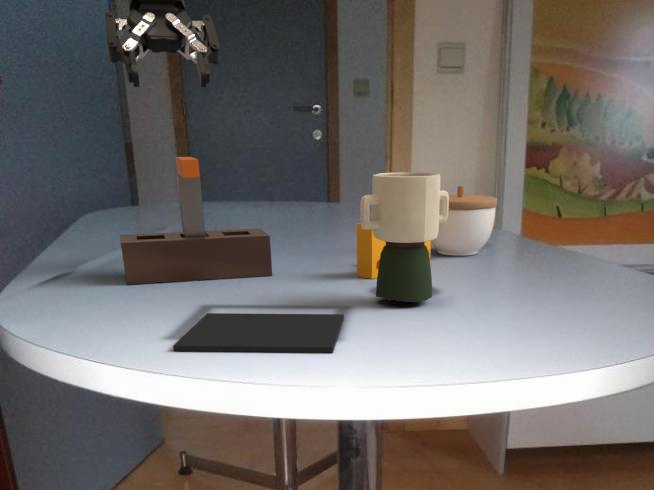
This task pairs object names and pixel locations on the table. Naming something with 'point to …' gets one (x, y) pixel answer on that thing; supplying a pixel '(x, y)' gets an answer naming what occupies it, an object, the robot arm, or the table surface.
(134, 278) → the organizer
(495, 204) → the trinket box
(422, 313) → the table surface
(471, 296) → the table surface
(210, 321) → the mat
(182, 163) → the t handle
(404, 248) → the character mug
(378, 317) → the table surface
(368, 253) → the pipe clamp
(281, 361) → the table surface
